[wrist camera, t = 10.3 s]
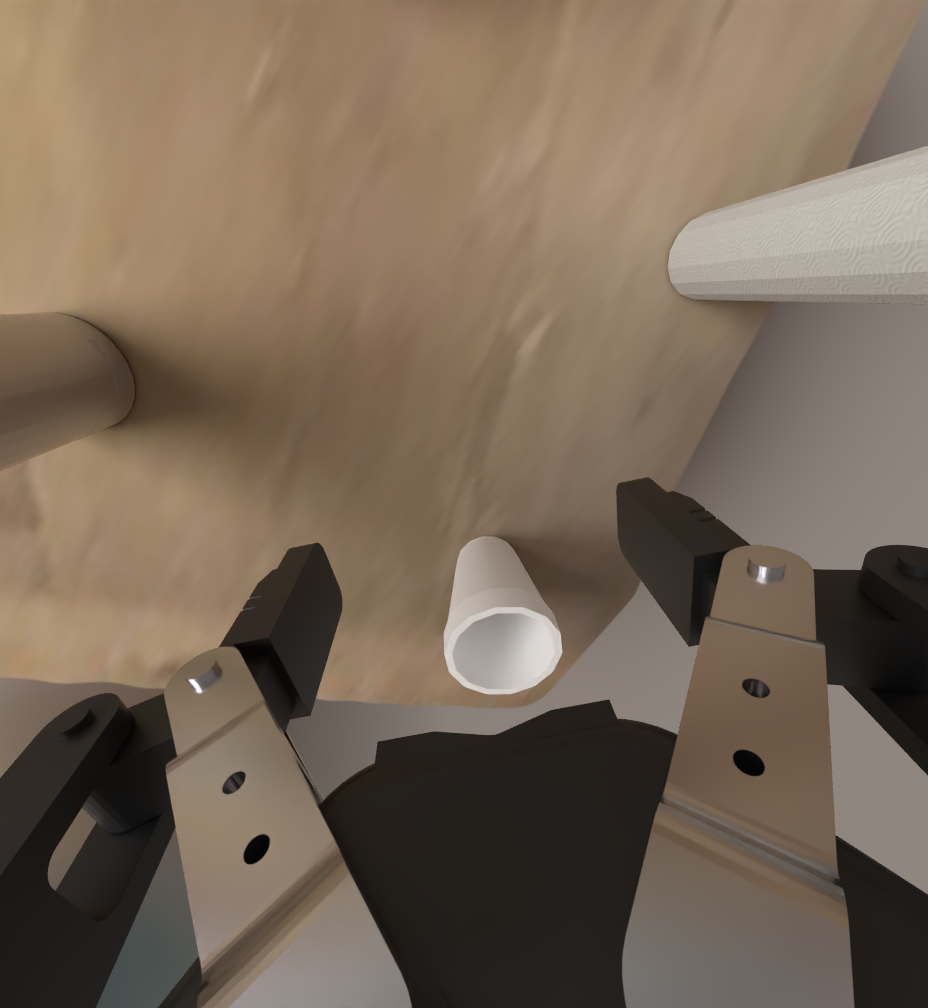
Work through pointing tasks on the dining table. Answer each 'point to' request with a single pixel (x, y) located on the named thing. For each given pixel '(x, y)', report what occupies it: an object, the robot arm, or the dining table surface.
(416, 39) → the dining table surface
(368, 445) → the dining table surface
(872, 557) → the robot arm
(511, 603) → the foam cup
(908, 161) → the paper towel roll
